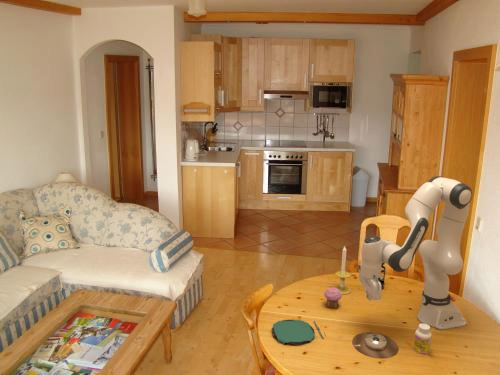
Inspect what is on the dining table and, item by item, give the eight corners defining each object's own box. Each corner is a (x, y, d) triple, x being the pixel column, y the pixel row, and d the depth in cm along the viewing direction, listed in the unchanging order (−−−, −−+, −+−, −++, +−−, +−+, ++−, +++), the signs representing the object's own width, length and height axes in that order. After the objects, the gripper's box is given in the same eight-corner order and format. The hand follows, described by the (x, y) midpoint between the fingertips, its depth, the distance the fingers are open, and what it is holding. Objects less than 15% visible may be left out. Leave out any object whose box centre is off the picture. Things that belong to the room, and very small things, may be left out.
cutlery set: (268, 324, 221) (268, 319, 220) (327, 320, 225) (327, 316, 225) (276, 348, 202) (277, 343, 201) (341, 343, 206) (341, 339, 206)
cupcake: (323, 309, 235) (324, 291, 232) (324, 301, 243) (324, 284, 240) (341, 310, 233) (342, 293, 231) (341, 302, 241) (342, 285, 239)
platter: (388, 333, 212) (388, 331, 212) (406, 359, 193) (406, 357, 193) (346, 334, 211) (346, 333, 210) (360, 361, 191) (360, 359, 191)
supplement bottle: (410, 352, 199) (413, 326, 196) (417, 346, 204) (420, 320, 200) (425, 359, 194) (428, 332, 191) (432, 352, 199) (435, 326, 196)
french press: (383, 283, 264) (386, 246, 259) (387, 290, 255) (390, 252, 250) (362, 282, 265) (365, 245, 259) (365, 290, 256) (368, 251, 250)
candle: (330, 286, 259) (332, 242, 253) (346, 285, 261) (349, 241, 254) (336, 295, 250) (339, 249, 243) (353, 293, 251) (357, 248, 245)
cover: (382, 339, 206) (382, 333, 205) (389, 351, 197) (389, 344, 196) (362, 339, 205) (362, 333, 205) (368, 351, 197) (369, 345, 196)
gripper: (386, 281, 196) (384, 310, 200) (369, 261, 216) (368, 288, 219) (371, 282, 196) (370, 311, 199) (356, 262, 215) (355, 289, 219)
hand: (369, 299), depth 210 cm, fingers closed
